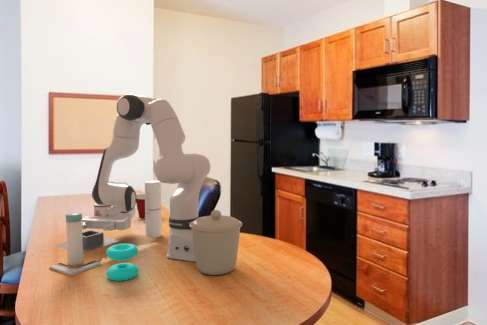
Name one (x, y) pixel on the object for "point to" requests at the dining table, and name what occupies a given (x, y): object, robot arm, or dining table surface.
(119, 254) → the donuts
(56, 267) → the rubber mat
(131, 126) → the robot arm
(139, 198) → the plastic cup
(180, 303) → the dining table surface
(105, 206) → the teacup with lid
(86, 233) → the grey square peg base
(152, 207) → the cylindrical container
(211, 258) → the canister
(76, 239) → the cylinder
